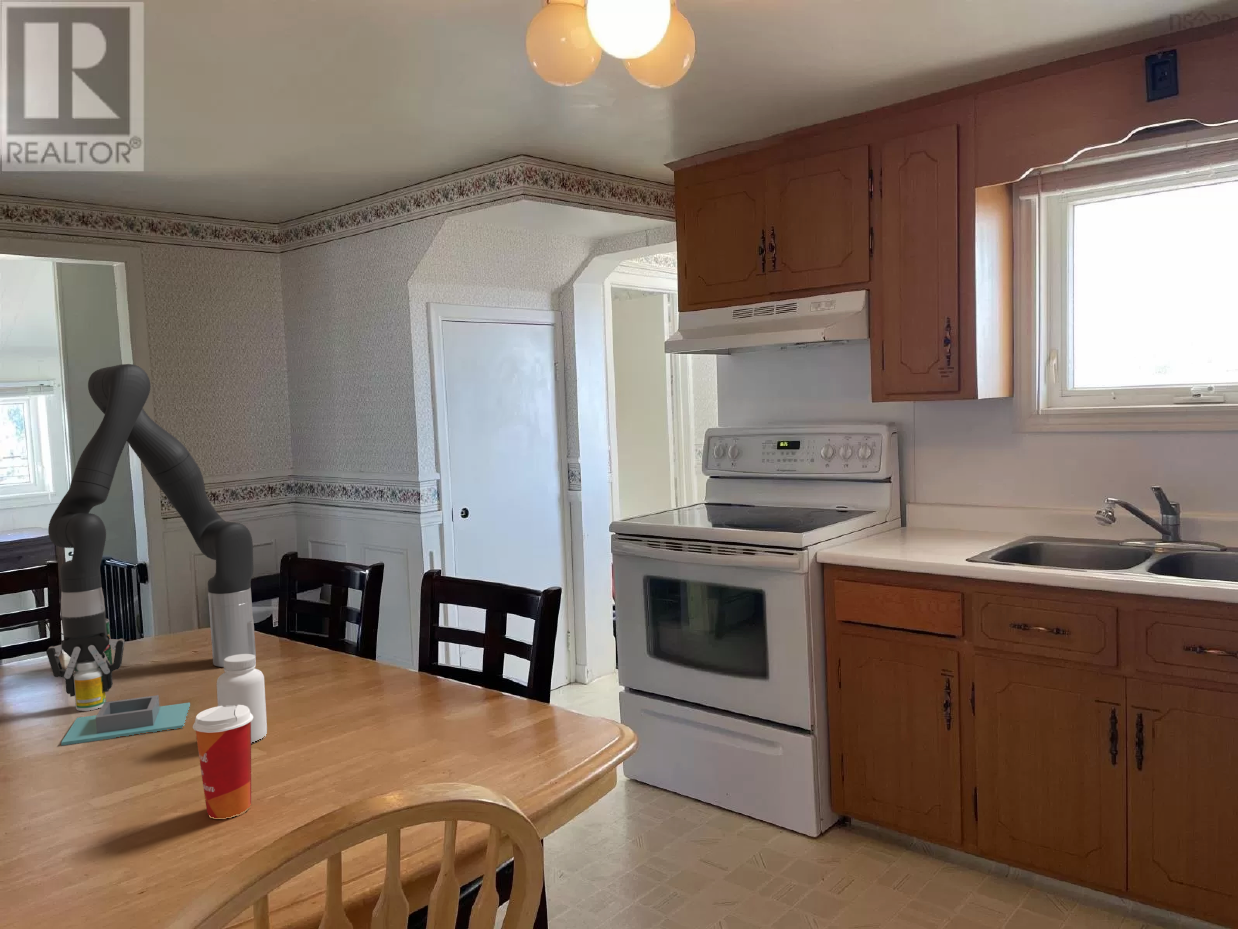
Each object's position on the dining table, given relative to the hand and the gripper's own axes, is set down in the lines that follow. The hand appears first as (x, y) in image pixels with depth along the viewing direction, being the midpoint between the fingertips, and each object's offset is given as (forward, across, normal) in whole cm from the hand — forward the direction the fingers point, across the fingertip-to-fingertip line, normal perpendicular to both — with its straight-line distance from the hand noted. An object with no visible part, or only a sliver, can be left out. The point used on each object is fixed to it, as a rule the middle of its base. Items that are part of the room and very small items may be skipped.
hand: (90, 692), depth 185 cm
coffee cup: (+3, -29, +64) cm, 70 cm away
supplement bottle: (+3, 0, 0) cm, 3 cm away
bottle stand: (+3, -9, +15) cm, 18 cm away
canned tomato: (+3, +5, -32) cm, 33 cm away
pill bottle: (+3, -30, +33) cm, 45 cm away
